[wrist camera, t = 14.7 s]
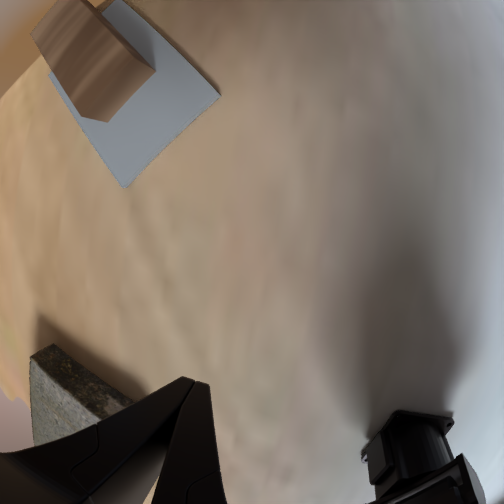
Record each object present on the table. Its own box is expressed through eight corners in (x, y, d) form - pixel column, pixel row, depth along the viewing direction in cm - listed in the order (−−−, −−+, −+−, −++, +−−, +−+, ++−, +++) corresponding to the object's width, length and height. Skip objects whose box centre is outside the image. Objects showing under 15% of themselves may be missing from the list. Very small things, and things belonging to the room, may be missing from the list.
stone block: (166, 415, 25) (142, 450, 20) (130, 488, 30) (114, 512, 25) (54, 335, 26) (21, 357, 21) (50, 431, 31) (30, 450, 26)
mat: (221, 95, 18) (218, 93, 17) (126, 187, 20) (122, 187, 20) (122, -1, 17) (118, -3, 17) (52, 76, 20) (48, 75, 19)
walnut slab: (133, 57, 15) (68, -12, 14) (81, 116, 16) (30, 34, 15) (156, 71, 18) (88, 1, 17) (107, 122, 19) (51, 42, 18)
